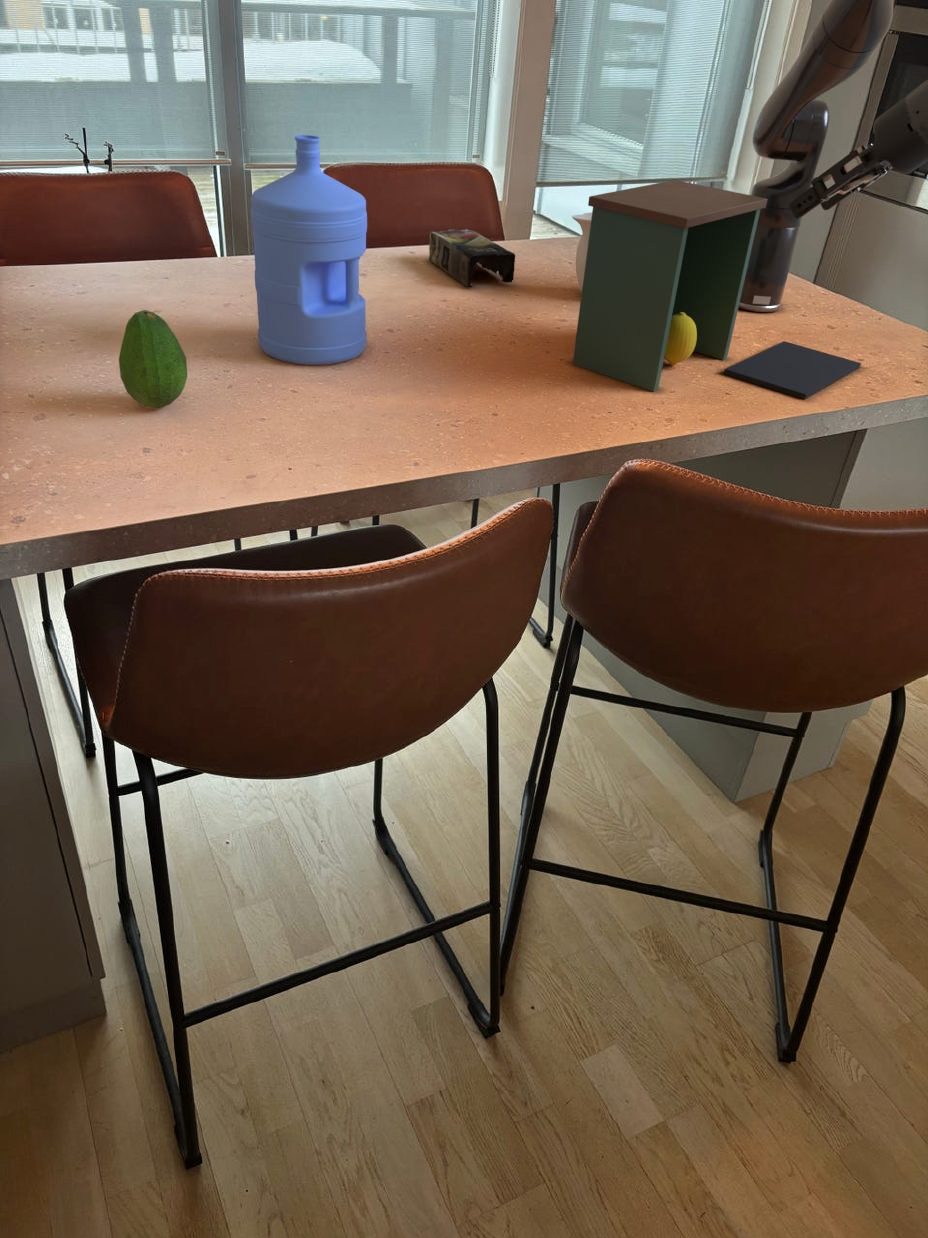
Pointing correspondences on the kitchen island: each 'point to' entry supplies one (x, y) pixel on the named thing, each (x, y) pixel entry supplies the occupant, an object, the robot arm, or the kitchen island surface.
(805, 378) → the mat
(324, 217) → the water jug
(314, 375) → the kitchen island surface
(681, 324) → the lemon
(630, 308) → the cupboard
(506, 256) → the dark printed box
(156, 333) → the avocado
